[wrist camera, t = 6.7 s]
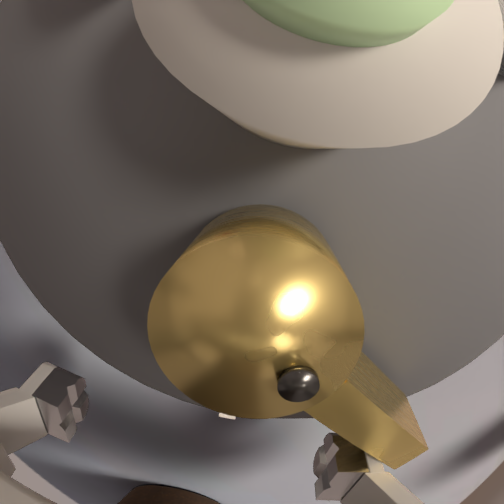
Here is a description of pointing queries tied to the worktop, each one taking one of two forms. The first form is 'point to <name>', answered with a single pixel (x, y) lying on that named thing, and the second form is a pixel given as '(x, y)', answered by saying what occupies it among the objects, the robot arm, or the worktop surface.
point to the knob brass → (276, 333)
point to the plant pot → (163, 496)
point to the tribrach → (259, 159)
